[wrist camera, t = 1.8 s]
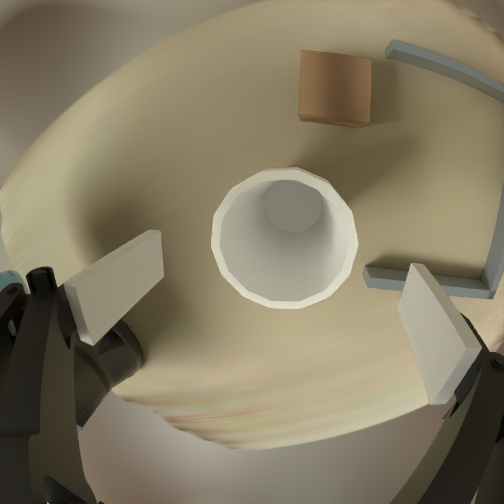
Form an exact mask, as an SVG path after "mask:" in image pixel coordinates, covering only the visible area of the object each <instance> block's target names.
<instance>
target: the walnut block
mask: <svg viewBox="0 0 504 504" xmlns="http://www.w3.org/2000/svg"><path fill="white" fill-rule="evenodd" d="M370 112H371V59H366V58H360V57H355V56H348V55H342V54H335V53H327V52H318V51H306V50H301V74H300V97H299V117H300V121H306V122H316V123H325V124H332V125H340V126H346V127H353V128H360V127H362V126H364V125H367V124H369V123H370Z"/></svg>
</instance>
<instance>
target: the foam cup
mask: <svg viewBox="0 0 504 504" xmlns="http://www.w3.org/2000/svg"><path fill="white" fill-rule="evenodd" d="M358 245H359V244H358V239H357V234H356V229H355V224H354V219H353V214H352V211H351V210H350V208H349V207H348V205H347V204H346V202H345V201H344V200H343V199H342V197H341V196H340V195H339V194H338V193H337V191H336V190H335V189H334V188H333V187H332V185H331V184H330V183H329V182H328V181H327V180H326V179H324V178H322V177H319V176H317V175H315V174H313V173H310V172H308V171H306V170H303V169H301V168H299V167H288V168H269V169H264V170H262V171H260V172H258V173H257V174H255V175H253V176H251V177H250V178H248V179H246V180H244V181H243V182H241V183H239V184H238V185H236V186H234V187H232V188H231V189H230V190H229V192H228V194H227V195H226V197H225V198H224V200H223V201H222V203H221V205H220V206H219V208H218V209H217V211H216V213H215V214H214V216H213V227H212V238H211V248H212V251H213V254H214V256H215V259H216V262H217V264H218V267H219V270H220V272H221V275H222V276H223V277H224V278H225V279H226V280H227V281H228V282H229V283H230V284H231V285H232V286H233V287H234V288H235V289H236V290H237V291H238V292H239V293H240V294H241V295H242V296H243V297H245V298H247V299H250V300H252V301H254V302H257V303H259V304H262V305H264V306H266V307H269V308H281V309H301V308H304V307H306V306H309V305H311V304H314V303H316V302H319V301H321V300H324V299H326V298H328V297H330V296H331V295H332V293H333V292H334V291H335V290H336V289H337V288H338V287H339V286H340V285H341V284H342V283H343V282H344V281H345V279H346V278H347V277H348V276H349V275H350V272H351V269H352V266H353V262H354V259H355V255H356V252H357V248H358Z"/></svg>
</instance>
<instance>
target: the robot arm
mask: <svg viewBox="0 0 504 504" xmlns="http://www.w3.org/2000/svg"><path fill="white" fill-rule="evenodd" d="M163 277H164V268H163V256H162V243H161V231H157V230H148V231H146V232H144V233H142V234H141V235H139V236H137V237H136V238H134V239H132V240H130V241H129V242H127V243H125V244H124V245H122V246H120V247H119V248H117V249H116V250H114V251H112V252H111V253H109V254H107V255H106V256H104V257H103V258H101V259H99V260H98V261H96V262H95V263H93V264H92V265H90V266H89V267H87V268H85V269H84V270H82V271H81V272H79V273H78V274H76V275H75V276H73V277H72V278H70V279H69V280H67V281H66V282H64V283H63V284H62V285H61V286H59V287H58V288H57V284H56V280H55V276H54V272H53V269H52V268H51V267H39V268H36V269H34V270H32V271H30V272H29V273H28V274H27V275H26V279H27V282H28V285H29V289H30V292H31V293H30V292H29V290H28V288H27V286H26V284H25V282H24V280H23V278H22V277H21V275H20V274H19V273H18V272H17V271H14V270H8V271H4V272H1V273H0V504H47V502H48V503H49V504H97V501H96V498H95V496H94V494H93V491H92V490H91V488H90V486H89V484H88V483H87V481H86V479H85V476H84V472H83V467H82V461H81V456H80V449H79V441H78V433H79V432H80V431H82V430H83V427H84V425H85V424H86V422H87V421H88V420H89V418H90V417H91V416H92V414H93V413H94V411H95V410H96V409H97V407H98V406H99V405H100V403H101V402H102V400H103V399H104V398H105V396H106V395H107V394H108V392H109V391H110V390H111V389H112V388H113V387H115V386H116V385H118V384H119V383H121V382H122V381H124V380H125V379H127V378H129V377H131V376H133V375H134V374H135V373H136V372H137V370H138V369H139V368H140V366H141V364H142V361H143V355H142V351H141V348H140V345H139V343H138V341H137V339H136V338H135V336H134V335H133V333H132V332H131V331H130V329H129V328H128V327H127V326H126V325H125V324H124V323H123V322H122V321H121V320H120V319H121V318H122V317H123V316H124V315H125V314H126V313H127V312H128V311H129V310H130V309H131V308H132V307H133V306H134V305H135V304H136V303H137V302H138V301H139V300H140V299H141V298H142V297H143V296H144V295H145V294H146V293H147V292H148V291H149V290H151V289H152V288H153V287H154V286H155V285H156V284H157V283H158V282H159V281H160V280H161V279H162V278H163ZM397 311H398V313H399V316H400V318H401V321H402V323H403V326H404V328H405V331H406V333H407V336H408V339H409V341H410V344H411V347H412V349H413V352H414V355H415V358H416V361H417V363H418V366H419V369H420V372H421V375H422V379H423V382H424V385H425V388H426V391H427V395H428V398H429V402H430V405H433V404H444V403H447V401H448V400H449V399H450V397H451V396H452V395H453V393H455V396H456V399H457V400H456V401H455V403H454V404H453V405H452V407H451V408H450V409H449V411H448V412H447V413H446V414H445V415H444V417H443V419H445V418H446V419H445V421H444V423H443V425H442V427H441V429H440V430H439V432H438V434H437V436H436V438H435V440H434V441H433V443H432V444H431V446H430V448H429V449H428V451H427V453H426V454H425V456H424V458H423V459H422V461H421V462H420V464H419V465H418V467H417V468H416V469H415V471H414V472H413V474H412V475H411V477H410V478H409V480H408V481H407V482H406V484H405V485H404V486H403V487H402V489H401V490H400V491H399V493H398V494H397V495H396V496H395V498H394V499H393V500H392V501H391V502H390V504H470V503H471V501H472V499H473V497H474V495H475V493H476V491H477V489H478V493H477V496H476V500H475V504H504V356H502V355H501V354H498V353H496V352H489V350H488V348H487V347H486V345H485V343H484V342H483V340H482V339H481V337H480V335H478V332H477V331H476V329H474V326H473V325H472V323H471V322H470V320H469V319H468V318H467V317H465V316H464V315H463V314H462V313H460V312H459V311H458V309H457V308H456V306H455V305H454V304H453V302H452V301H451V299H450V298H449V297H448V295H447V294H446V293H445V291H444V290H443V288H442V287H441V286H440V285H439V283H438V282H437V281H436V279H435V278H434V277H433V275H432V274H431V273H430V272H429V270H428V269H427V268H426V267H425V265H424V264H418V263H411V265H410V268H409V272H408V275H407V279H406V282H405V285H404V289H403V292H402V295H401V298H400V301H399V304H398V307H397ZM478 487H479V488H478ZM98 504H104V503H102V502H101V501H100V502H99V503H98Z"/></svg>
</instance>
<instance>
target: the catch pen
mask: <svg viewBox="0 0 504 504" xmlns="http://www.w3.org/2000/svg"><path fill="white" fill-rule="evenodd" d="M386 58H390V59H394V60H398V61H402V62H406V63H409V64H412V65H416V66H419V67H422V68H425V69H428V70H431V71H434V72H437V73H440V74H443V75H445V76H448V77H450V78H453V79H456V80H458V81H460V82H463V83H465V84H467V85H470V86H472V87H474V88H476V89H478V90H481V91H483V92H485V93H487V94H489V95H491V96H493V97H495V98H497V99H498V100H500V101H502V102H504V84H502V83H500V82H499V81H497V80H495V79H493V78H491V77H489V76H487V75H486V74H484V73H482V72H480V71H478V70H475V69H473V68H471V67H469V66H467V65H465V64H462V63H460V62H458V61H455V60H453V59H451V58H448V57H446V56H443V55H440V54H438V53H435V52H432V51H429V50H426V49H424V48H420V47H417V46H414V45H411V44H408V43H404V42H401V41H397V40H392V41H391V43H390V44H389V45H388V46H387V48H386ZM503 270H504V185H503V192H502V198H501V204H500V209H499V214H498V219H497V224H496V228H495V232H494V236H493V240H492V244H491V248H490V251H489V255H488V258H487V261H486V265H485V268H484V271H483V274H482V277H481V280H474V279H466V278H458V277H450V276H442V275H434V274H432V275H433V277H434V278H435V279H436V281H437V282H438V283H439V285H440V286H441V287H442V288H443V290H444V291H445V293H446V294H447V295H448V296H458V297H470V298H482V299H493V298H494V295H495V293H496V290H497V287H498V285H499V282H500V279H501V276H502V273H503ZM408 272H409V271H403V270H395V269H387V268H379V267H371V266H365V268H364V273H363V277H364V279H365V282H366V285H367V287H369V288H378V289H387V290H397V291H403V289H404V285H405V282H406V279H407V275H408Z"/></svg>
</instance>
